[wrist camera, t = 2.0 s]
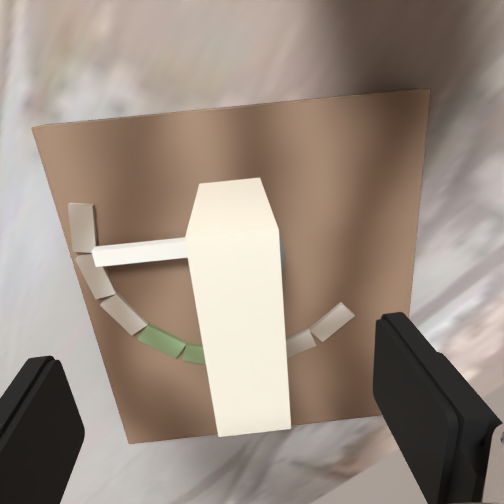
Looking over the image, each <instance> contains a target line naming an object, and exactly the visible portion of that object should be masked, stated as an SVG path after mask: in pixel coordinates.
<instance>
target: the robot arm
mask: <svg viewBox="0 0 504 504" xmlns="http://www.w3.org/2000/svg"><path fill="white" fill-rule="evenodd" d="M373 395H374V399H375V401H376V403H377V405H378V407H379V409H380V411H381V413H382V415H383V417H384V419H385V421H386V423H387V425H388V427H389V429H390V431H391V433H392V435H393V437H394V438H395V440H396V442H397V444H398V446H399V448H400V450H401V452H402V454H403V456H404V458H405V460H406V462H407V464H408V466H409V468H410V469H411V472H412V473H413V475H414V477H415V479H416V481H417V483H418V485H419V487H420V489H421V491H422V493H423V495H424V497H425V499H426V501H427V503H428V504H504V424H503V423H502V422H501V421H500V419H499V418H498V417H497V416H496V415H495V414H494V412H493V411H492V410H491V409H490V408H489V407H488V405H487V404H486V403H485V402H484V401H483V400H482V398H481V397H480V396H479V395H478V394H477V393H476V391H475V390H474V389H473V388H472V387H471V386H470V385H469V383H468V382H467V381H466V380H465V379H464V378H463V376H462V375H461V374H460V373H459V372H458V371H457V369H456V368H455V367H454V366H453V365H452V364H451V362H450V361H449V360H448V359H447V358H446V357H445V356H444V355H443V354H442V353H439V352H436V350H435V349H434V348H433V347H432V346H431V344H430V343H429V342H428V341H427V340H426V339H425V337H424V336H423V335H422V334H421V333H420V331H419V330H418V329H417V328H416V327H415V326H414V324H413V323H412V322H411V321H410V320H409V318H408V317H407V316H406V315H405V314H404V313H403V312H395V313H387V314H383V315H382V316H381V319H378V320H376V326H375V347H374V367H373ZM84 436H85V430H84V426H83V423H82V420H81V417H80V414H79V412H78V409H77V406H76V403H75V400H74V398H73V395H72V392H71V389H70V386H69V384H68V381H67V378H66V375H65V372H64V370H63V367H62V364H61V362H60V361H59V360H55V359H54V358H53V357H52V356H43V357H35V358H30V359H28V360H27V361H26V362H25V364H24V365H23V367H22V368H21V370H20V371H19V372H18V374H17V375H16V377H15V378H14V380H13V381H12V382H11V384H10V385H9V387H8V388H7V390H6V391H5V393H4V394H3V395H2V397H1V398H0V504H60V502H61V499H62V497H63V494H64V491H65V489H66V486H67V483H68V481H69V478H70V475H71V473H72V470H73V467H74V465H75V462H76V460H77V457H78V454H79V452H80V449H81V446H82V444H83V441H84Z"/></svg>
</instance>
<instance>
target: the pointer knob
mask: <svg viewBox="0 0 504 504" xmlns="http://www.w3.org/2000/svg"><path fill="white" fill-rule="evenodd" d="M91 252H92V255H93V259H94V262H95V266H96V267H102V266H111V265H121V264H130V263H140V262H149V261H159V260H168V259H178V258H188V263H189V268H190V274H191V280H192V286H193V292H194V297H195V303H196V309H197V315H198V321H199V327H200V332H201V338H202V344H203V350H204V356H205V362H206V367H207V373H208V379H209V385H210V391H211V397H212V402H213V408H214V414H215V420H216V426H217V432H218V437H224V436H233V435H241V434H250V433H259V432H267V431H276V430H285V429H291V418H290V402H289V386H288V370H287V354H286V338H285V322H284V306H283V290H282V273H283V270H284V266H285V250H284V246H283V243H282V240H281V237H280V235H279V229H278V226H277V223H276V221H275V218H274V215H273V212H272V209H271V207H270V204H269V201H268V198H267V196H266V193H265V190H264V187H263V185H262V182H261V179H260V178H250V179H240V180H231V181H221V182H211V183H201V184H199V187H198V191H197V195H196V198H195V202H194V206H193V209H192V213H191V217H190V221H189V224H188V228H187V232H186V236H185V237H183V238H174V239H164V240H154V241H145V242H135V243H125V244H116V245H106V246H97V247H94V249H93V250H92V251H91Z"/></svg>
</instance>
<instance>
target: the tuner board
mask: <svg viewBox="0 0 504 504" xmlns="http://www.w3.org/2000/svg"><path fill="white" fill-rule="evenodd" d="M430 92H431V89H409V90H399V91H388V92H378V93H367V94H357V95H347V96H336V97H326V98H316V99H305V100H295V101H285V102H274V103H264V104H254V105H243V106H233V107H223V108H212V109H202V110H192V111H181V112H171V113H160V114H150V115H140V116H129V117H119V118H109V119H98V120H88V121H78V122H67V123H57V124H47V125H41V126H37V127H32V131H33V135H34V138H35V141H36V144H37V148H38V151H39V154H40V157H41V161H42V164H43V167H44V170H45V174H46V177H47V180H48V183H49V187H50V190H51V193H52V196H53V200H54V203H55V206H56V209H57V213H58V216H59V219H60V222H61V225H62V229H63V232H64V235H65V238H66V242H67V245H68V248H69V251H70V255H71V258H72V261H73V264H74V268H75V271H76V274H77V277H78V281H79V284H80V287H81V290H82V294H83V297H84V300H85V303H86V307H87V310H88V313H89V316H90V320H91V323H92V326H93V329H94V333H95V336H96V339H97V342H98V345H99V349H100V352H101V355H102V358H103V362H104V365H105V368H106V371H107V375H108V378H109V381H110V384H111V388H112V391H113V394H114V397H115V401H116V404H117V407H118V410H119V414H120V417H121V420H122V423H123V427H124V430H125V433H126V436H127V440H128V443H129V444H135V443H144V442H153V441H161V440H170V439H179V438H187V437H196V436H205V435H213V434H218V432H217V426H216V420H215V414H214V408H213V402H212V397H211V391H210V385H209V379H208V373H207V367H206V362H205V356H204V350H203V344H202V338H201V332H200V327H199V321H198V315H197V309H196V303H195V297H194V292H193V286H192V280H191V274H190V268H189V263H188V258H178V259H168V260H159V261H149V262H140V263H130V264H121V265H111V266H102V267H96V266H95V262H94V259H93V255H92V252H91V251H92V250H93V249H94V247H97V246H106V245H116V244H125V243H135V242H145V241H154V240H164V239H174V238H183V237H185V236H186V232H187V228H188V224H189V221H190V217H191V213H192V209H193V206H194V202H195V198H196V195H197V191H198V187H199V184H201V183H211V182H221V181H231V180H240V179H250V178H260V179H261V182H262V185H263V187H264V190H265V193H266V196H267V198H268V201H269V204H270V207H271V209H272V212H273V215H274V218H275V221H276V223H277V226H278V229H279V235H280V237H281V240H282V243H283V246H284V250H285V266H284V270H283V273H282V290H283V306H284V322H285V338H286V354H287V370H288V386H289V402H290V418H291V426H292V425H300V424H309V423H318V422H326V421H335V420H344V419H352V418H361V417H370V416H378V415H382V413H381V411H380V409H379V407H378V405H377V403H376V401H375V399H374V395H373V367H374V347H375V326H376V320H378V319H381V316H382V315H383V314H387V313H395V312H403V313H404V314H405V315H406V316H407V317H408V318H409V312H410V302H411V291H412V281H413V270H414V260H415V250H416V239H417V229H418V218H419V208H420V197H421V187H422V176H423V166H424V155H425V145H426V134H427V124H428V113H429V103H430Z"/></svg>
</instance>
